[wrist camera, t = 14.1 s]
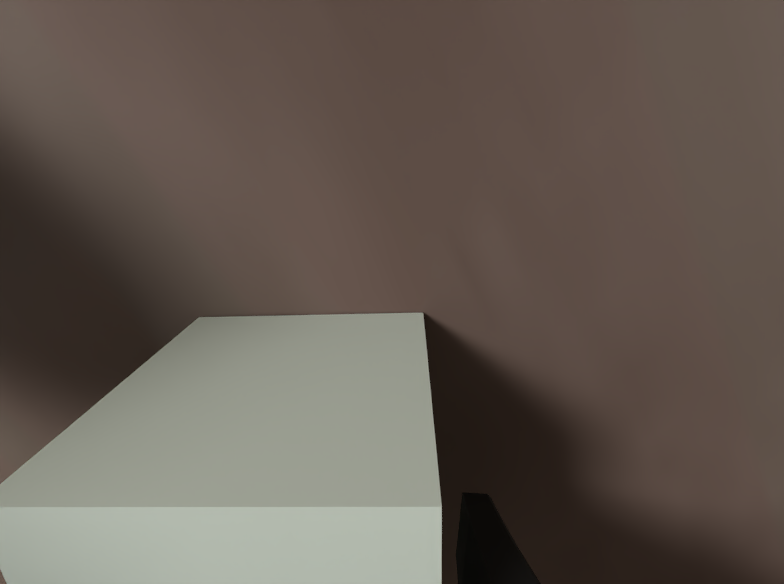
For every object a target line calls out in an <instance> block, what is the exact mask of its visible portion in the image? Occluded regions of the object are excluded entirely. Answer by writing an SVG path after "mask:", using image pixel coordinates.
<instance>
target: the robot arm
mask: <svg viewBox="0 0 784 584" xmlns="http://www.w3.org/2000/svg"><path fill="white" fill-rule="evenodd" d="M456 560H457V574H458V584H541V583H540V582H539V580H538V579H537V577H536V576H535V574H534V572H533V571H532V569H531V568H530V566H529V565H528V563H527V561H526V560H525V558H524V557H523V555H522V553H521V552H520V550H519V548H518V547H517V545H516V543H515V542H514V540H513V538H512V536H511V535H510V533H509V531H508V529H507V528H506V526H505V524H504V522H503V520H502V518H501V517H500V515H499V513H498V511H497V509H496V507H495V505H494V503H493V501H492V499H491V497H490V496H489V495H488V494H478V493H462V503H461V512H460V522H459V531H458V541H457V550H456Z"/></svg>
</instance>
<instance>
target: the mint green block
mask: <svg viewBox="0 0 784 584" xmlns="http://www.w3.org/2000/svg"><path fill="white" fill-rule="evenodd" d="M0 570H1V572H2V574H3V576H4V579H5V581H6V583H7V584H442V503H441V493H440V482H439V472H438V461H437V451H436V440H435V430H434V420H433V409H432V399H431V388H430V378H429V367H428V357H427V346H426V336H425V325H424V315H423V313H383V314H333V315H284V316H234V317H199V318H197V319H196V320H195V321H194V322H193V323H191V324H190V325H189V326H188V327H187V328H186V329H184V330H183V331H182V332H181V333H180V334H178V335H177V336H176V337H175V338H174V339H172V340H171V341H170V342H169V343H168V344H166V345H165V346H164V347H163V348H162V349H161V350H159V351H158V352H157V353H156V354H155V355H153V356H152V357H151V358H150V359H149V360H147V361H146V362H145V363H144V364H143V365H141V366H140V367H139V368H138V369H137V370H136V371H134V372H133V373H132V374H131V375H130V376H128V377H127V378H126V379H125V380H124V381H122V382H121V383H120V384H119V385H118V386H116V387H115V388H114V389H113V390H112V391H111V392H109V393H108V394H107V395H106V396H105V397H103V398H102V399H101V400H100V401H99V402H97V403H96V404H95V405H94V406H93V407H91V408H90V409H89V410H88V411H87V412H86V413H84V414H83V415H82V416H81V417H80V418H78V419H77V420H76V421H75V422H74V423H72V424H71V425H70V426H69V427H68V428H67V429H65V430H64V431H63V432H62V433H61V434H59V435H58V436H57V437H56V438H55V439H53V440H52V441H51V442H50V443H49V444H47V445H46V446H45V447H44V448H43V449H42V450H40V451H39V452H38V453H37V454H36V455H34V456H33V457H32V458H31V459H30V460H28V461H27V462H26V463H25V464H24V465H22V466H21V467H20V468H19V469H18V470H17V471H15V472H14V473H13V474H12V475H11V476H9V477H8V478H7V479H6V480H5V481H3V482H2V483H1V484H0Z"/></svg>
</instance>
